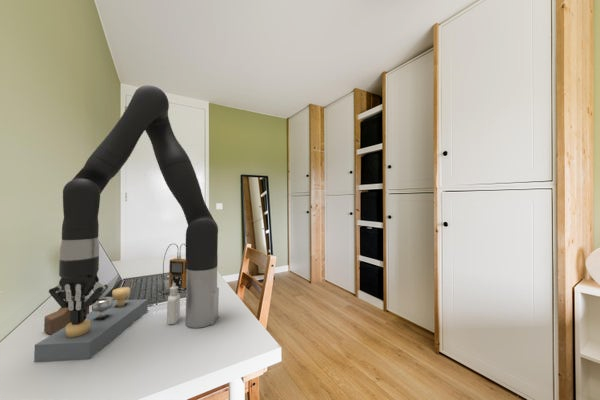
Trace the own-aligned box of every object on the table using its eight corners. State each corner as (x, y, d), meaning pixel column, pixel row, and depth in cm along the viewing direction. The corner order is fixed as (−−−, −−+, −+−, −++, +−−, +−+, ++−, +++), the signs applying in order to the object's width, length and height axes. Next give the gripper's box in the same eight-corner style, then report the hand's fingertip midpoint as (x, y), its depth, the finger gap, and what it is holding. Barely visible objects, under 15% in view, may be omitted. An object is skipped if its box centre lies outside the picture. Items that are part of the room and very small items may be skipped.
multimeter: (148, 295, 97) (149, 246, 98) (165, 286, 107) (166, 242, 108) (180, 297, 95) (181, 247, 95) (195, 289, 105) (196, 243, 105)
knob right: (132, 305, 80) (133, 286, 81) (123, 311, 76) (124, 291, 76) (118, 305, 80) (118, 287, 80) (108, 311, 75) (109, 292, 76)
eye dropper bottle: (185, 317, 78) (186, 281, 79) (172, 325, 73) (173, 286, 73) (174, 315, 79) (175, 279, 80) (160, 324, 74) (161, 285, 74)
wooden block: (49, 335, 67) (51, 271, 67) (43, 331, 69) (45, 269, 69) (89, 321, 75) (91, 264, 75) (82, 318, 77) (84, 263, 77)
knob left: (94, 341, 64) (94, 318, 64) (80, 352, 59) (80, 327, 59) (75, 342, 63) (76, 319, 63) (59, 353, 58) (60, 328, 59)
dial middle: (115, 317, 72) (116, 295, 72) (104, 324, 67) (105, 301, 68) (99, 317, 72) (100, 296, 72) (87, 325, 67) (88, 302, 67)
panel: (147, 310, 83) (147, 299, 83) (89, 359, 57) (89, 342, 57) (110, 312, 82) (110, 300, 82) (34, 361, 56) (34, 344, 56)
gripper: (117, 252, 66) (115, 315, 66) (65, 253, 65) (63, 317, 64) (96, 258, 58) (94, 329, 58) (37, 259, 57) (35, 332, 57)
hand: (78, 323), depth 61 cm, fingers closed
